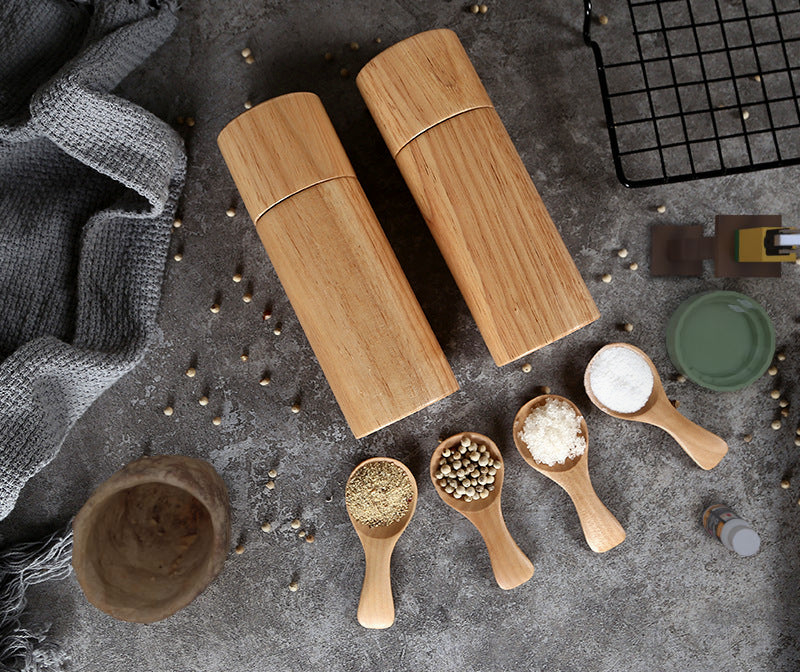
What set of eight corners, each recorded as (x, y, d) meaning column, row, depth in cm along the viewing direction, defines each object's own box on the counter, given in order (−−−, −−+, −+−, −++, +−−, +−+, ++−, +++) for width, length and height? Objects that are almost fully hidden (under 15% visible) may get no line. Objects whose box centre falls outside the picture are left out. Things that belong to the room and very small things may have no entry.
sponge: (766, 230, 91) (796, 227, 84) (765, 261, 91) (796, 261, 84) (734, 230, 91) (762, 227, 84) (734, 261, 91) (762, 261, 84)
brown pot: (261, 547, 117) (223, 624, 92) (139, 554, 117) (68, 632, 92) (254, 425, 117) (214, 468, 92) (132, 431, 117) (59, 476, 92)
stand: (699, 225, 116) (782, 214, 91) (699, 275, 116) (781, 277, 91) (650, 225, 116) (719, 214, 91) (650, 275, 116) (718, 277, 91)
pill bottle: (697, 509, 117) (724, 531, 107) (726, 499, 117) (757, 520, 107) (707, 538, 117) (735, 564, 107) (736, 528, 117) (768, 552, 107)
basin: (761, 290, 116) (776, 291, 112) (760, 386, 117) (775, 391, 112) (664, 290, 116) (675, 290, 112) (664, 386, 117) (674, 391, 112)
